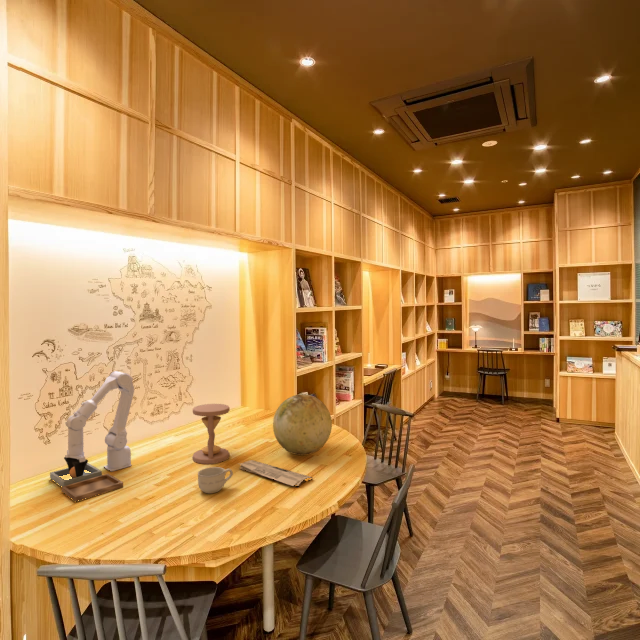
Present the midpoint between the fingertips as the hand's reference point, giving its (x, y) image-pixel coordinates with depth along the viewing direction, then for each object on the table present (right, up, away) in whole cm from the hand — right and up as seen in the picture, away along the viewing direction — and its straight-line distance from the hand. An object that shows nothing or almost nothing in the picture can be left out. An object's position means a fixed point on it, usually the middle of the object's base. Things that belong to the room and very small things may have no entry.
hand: (76, 474), depth 179 cm
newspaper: (+84, -3, +5) cm, 84 cm away
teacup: (+63, -3, -10) cm, 64 cm away
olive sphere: (+96, -2, +33) cm, 102 cm away
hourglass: (+52, -2, +26) cm, 58 cm away
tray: (+13, -2, -11) cm, 17 cm away
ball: (0, +1, 0) cm, 1 cm away
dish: (0, -2, 0) cm, 2 cm away
